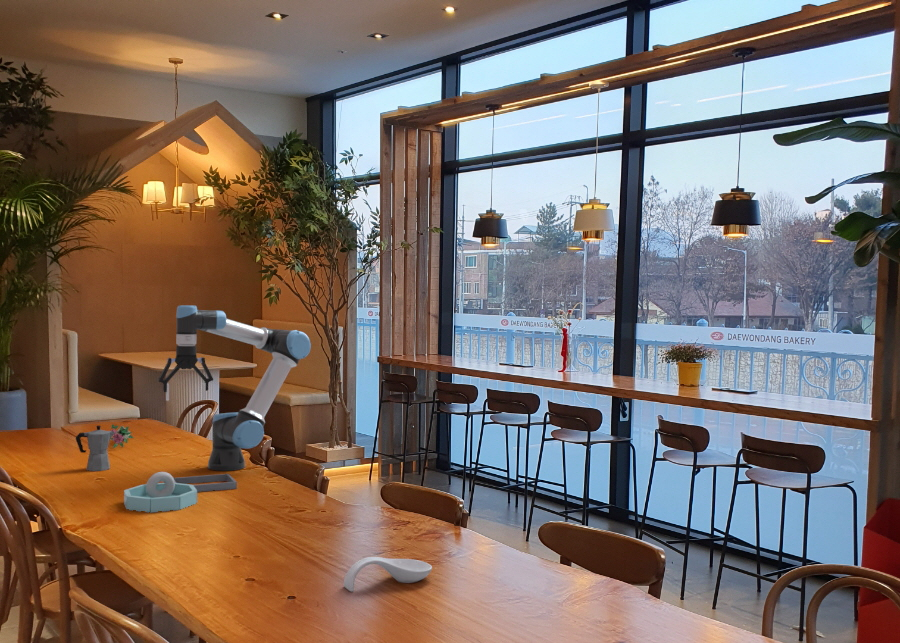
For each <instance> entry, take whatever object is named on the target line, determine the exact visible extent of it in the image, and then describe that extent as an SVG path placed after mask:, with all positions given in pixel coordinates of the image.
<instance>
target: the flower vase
mask: <svg viewBox="0 0 900 643" xmlns="http://www.w3.org/2000/svg"><path fill="white" fill-rule="evenodd" d="M129 429H130V428H129V425H127V426H126V427H125V426H123V425H121V426H120V427H119V425H114V423H112V424H111V429H110V430H109V431H112V432H115V434H113V436H112V437H111V439H110V441H113V442H114V445H113V446H112V449H116V448H117V447H118V445H119V446H120V447H121V448H124V443H125V444H128V439H134V436H132V435H131V434H132V431H130V430H129ZM123 441H124V443H123Z"/></svg>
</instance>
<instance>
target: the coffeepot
mask: <svg viewBox="0 0 900 643" xmlns="http://www.w3.org/2000/svg"><path fill="white" fill-rule="evenodd" d="M113 434H115V432H112V431H110V430H104V429H101V425H96V430H92V431H87V432H79V433H78V434H77V435H76V437H75V440H76V443H77V446H78V450H79V452H80V453H82V454H83V453H87V449H84V448H83V447H84V446H83V444H82V439H81V438H86V439H87V440H86V441H87V446H88V450H89V454H88V459H87V465H86V471H88V470H89V472H102V471H103V470H104V471H107V470H110V467H111V464H110V459H109V453H108V448H109V444H110V441H111V438H113V436H114V435H113Z"/></svg>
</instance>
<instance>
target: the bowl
mask: <svg viewBox="0 0 900 643" xmlns="http://www.w3.org/2000/svg"><path fill="white" fill-rule="evenodd" d="M146 484H147V483H145V484H140V485H136V486H134V487H130V488H127V489H124V490H123V504H124V507H125V509H126V510H127V509H129V510H128V511H133V510H136V512H141V511H145V512H144V513H149V512H150V513H159V512H158V511H162V512H171V511H170V510H173V511H181V510H184V509H186V508H188V506H189V507H191V505H192V506H194V505H197V504H198V492H197V490H196V488H195V487H194V486H193V485H194V484H181V483H175V487H174V490H173V493H172V494H171V495H170V496H169V497H157V498H150V497H149V496H148V494H147V492H146ZM164 487H165V483H164V482H159V483H158V484H157V485H156V489H157V490H158V491H161V490H163V489H164ZM196 503H197V504H196ZM193 504H194V505H193ZM185 507H186V508H185ZM183 508H184V509H183ZM180 509H181V510H180Z"/></svg>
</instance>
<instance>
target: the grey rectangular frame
mask: <svg viewBox="0 0 900 643" xmlns="http://www.w3.org/2000/svg"><path fill="white" fill-rule="evenodd" d="M173 479H174V481H175V483H181V484H188V483H191V484H192V485H193V486H194V487H195V488H196V490H197V493H200V492H201V491H203V492H212V491H213V490H215V491H224V490H226V491H227V490H237V489H238V487H237V486H238V482H237V481H236V479H235V478H233V477H232V476H231V475H230V473H223V474H222V473H220V474H207V475H195V476H183V477H182V476H181V477H173ZM203 482H204V483H203ZM213 492H214V491H213ZM201 493H202V492H201Z"/></svg>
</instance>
